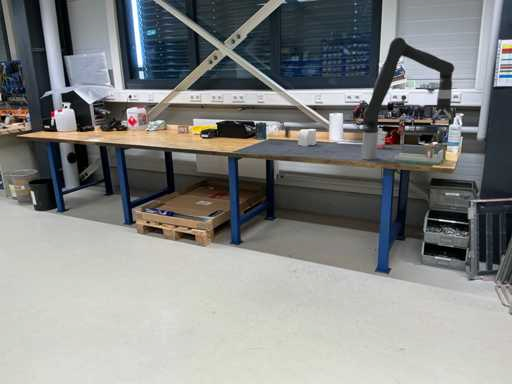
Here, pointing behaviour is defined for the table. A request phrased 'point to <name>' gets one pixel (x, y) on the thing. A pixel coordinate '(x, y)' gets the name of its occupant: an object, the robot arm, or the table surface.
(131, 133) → the table surface
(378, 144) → the ink cartridge box
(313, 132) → the light grey block
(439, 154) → the translucent green rectangular tray
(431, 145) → the striker
